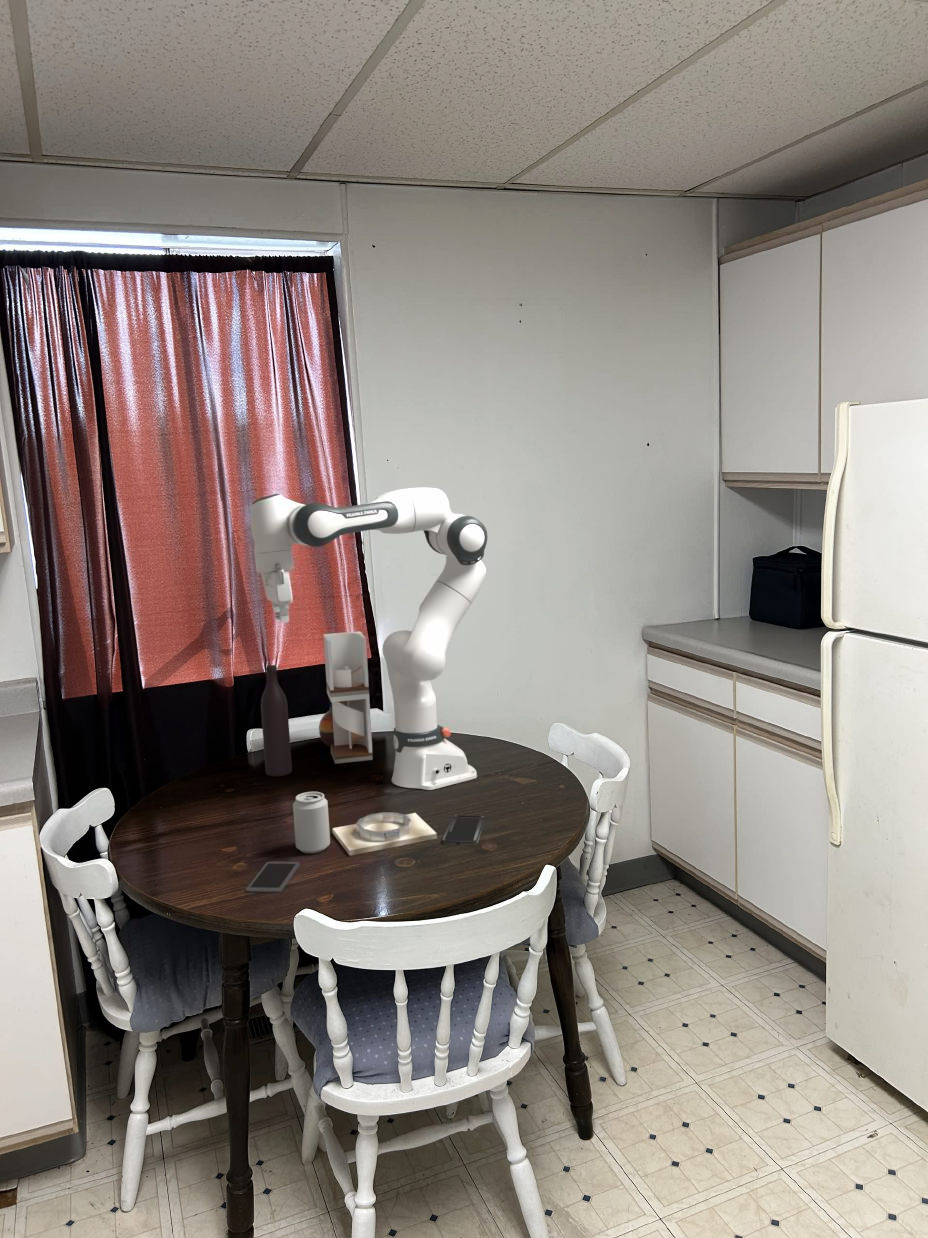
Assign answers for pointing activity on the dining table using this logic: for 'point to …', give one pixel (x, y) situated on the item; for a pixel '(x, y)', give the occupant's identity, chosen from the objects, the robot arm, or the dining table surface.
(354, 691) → the display case
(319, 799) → the can
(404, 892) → the dining table surface
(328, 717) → the vase
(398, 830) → the ring collar
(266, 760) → the wine bottle
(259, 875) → the cell phone
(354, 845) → the seat board
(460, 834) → the phone
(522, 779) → the dining table surface
